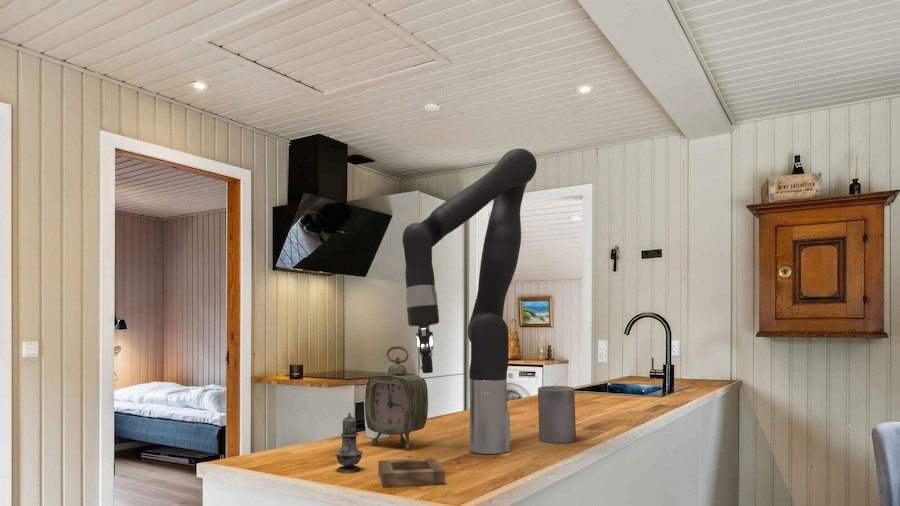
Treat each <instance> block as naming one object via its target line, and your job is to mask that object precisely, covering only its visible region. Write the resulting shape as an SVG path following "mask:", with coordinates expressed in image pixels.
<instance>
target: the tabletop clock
mask: <svg viewBox="0 0 900 506" xmlns="http://www.w3.org/2000/svg"><path fill="white" fill-rule="evenodd" d="M392 350H401V351H403V352H405V354H406V357H405V358H404V359H400V357H398V356H396V357H395V359H393V358H391V357H390V356H389V355H390V352H392ZM409 355H410V354H409V351H408V350H407V349H406V348H405V347H403V346H398V345H396V346H392V347H389V349H387V352H386V357H387V359H388V361H389V362H391V363H395V364H392V365H390V366H389V368H388V370H387V374H383V375H381V374H380V375H375V376H372V377H371V376H370V377H369V378H368V380H367V382H366V387H365V394H364V395H365V398H364V399H365V415H364V417H365V416H366V423H367V426H368V428H369V429H370V430H372V431H374V432H378V435H377V437H376V438H371V444H372V445H373V446H376V445H377V444H378V443H379V440H378V439H379V437H380V435H381V434H388V435H391V436H392V435H397V436H398V435H399V437H400V439H399V443H400V445H404V448H405V449H406V450H410V449H411V448H412V443H411V442H410V433H412V432H418V431H421V430H423V429H424V428H425V426H426V423H427V420H428V411H429V410H428V409H429V398H428V397H429V393H428V391H429V390H428V385H427V381H426V379H425V378H423V377H422V376H419V375H415V374H410V373H409V374H408V370H407V368H406V366H405V365H404V364H403V363H404V362H406V361H407V360H408V359H409ZM404 436H405V437H404Z"/></svg>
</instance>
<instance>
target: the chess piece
mask: <svg viewBox="0 0 900 506" xmlns="http://www.w3.org/2000/svg"><path fill="white" fill-rule="evenodd" d="M351 415H352V414H351V412H348V414H347V417H345V418H343V420H342V433H341V434H340V436H341V437H342V438H341V447H340V449H339V451H336V452H335V453H334V455H335V456H336V461H337V463H339V464H340V465H341V466H339V467H337V469H336V472H337V471H338V472H337V473H341V472H342V473H341V474H343V473H344V474H352V473H357V472H358V473H359V472H361V471H362V468H361V467H360V466H358V465H357V464H359V462H360V461H361V459H362V455H364V451H362V450H359V449H358V447H357V436H358V433H357V419H356V418H355V417H353V416H351Z"/></svg>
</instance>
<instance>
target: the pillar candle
mask: <svg viewBox="0 0 900 506" xmlns="http://www.w3.org/2000/svg"><path fill="white" fill-rule="evenodd" d="M537 402H538V403H537V405H538V408H537V409H538V441H539V442H542V443H546V444H554V445H555V444H572V443H575V442H576V440H577V429H576V426H577V425H576V401H575V388H574V387H572V386H565V385H558V383H557V382H556V383H555V385H547V386H541V387H540V386H539V387H538V388H537Z"/></svg>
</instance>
